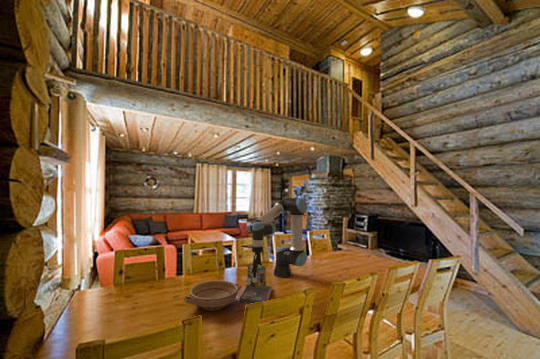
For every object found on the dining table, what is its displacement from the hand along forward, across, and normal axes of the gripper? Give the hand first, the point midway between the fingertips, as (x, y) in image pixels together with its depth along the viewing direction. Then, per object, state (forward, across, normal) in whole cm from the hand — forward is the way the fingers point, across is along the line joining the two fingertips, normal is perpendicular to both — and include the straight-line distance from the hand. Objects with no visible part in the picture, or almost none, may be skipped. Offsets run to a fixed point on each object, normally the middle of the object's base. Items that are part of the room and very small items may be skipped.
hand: (256, 278), depth 162 cm
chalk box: (+4, 0, 0) cm, 4 cm away
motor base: (+12, -3, 0) cm, 12 cm away
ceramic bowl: (+12, +16, -23) cm, 31 cm away
